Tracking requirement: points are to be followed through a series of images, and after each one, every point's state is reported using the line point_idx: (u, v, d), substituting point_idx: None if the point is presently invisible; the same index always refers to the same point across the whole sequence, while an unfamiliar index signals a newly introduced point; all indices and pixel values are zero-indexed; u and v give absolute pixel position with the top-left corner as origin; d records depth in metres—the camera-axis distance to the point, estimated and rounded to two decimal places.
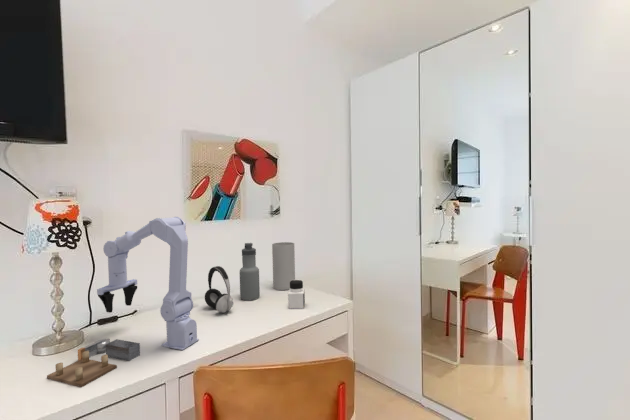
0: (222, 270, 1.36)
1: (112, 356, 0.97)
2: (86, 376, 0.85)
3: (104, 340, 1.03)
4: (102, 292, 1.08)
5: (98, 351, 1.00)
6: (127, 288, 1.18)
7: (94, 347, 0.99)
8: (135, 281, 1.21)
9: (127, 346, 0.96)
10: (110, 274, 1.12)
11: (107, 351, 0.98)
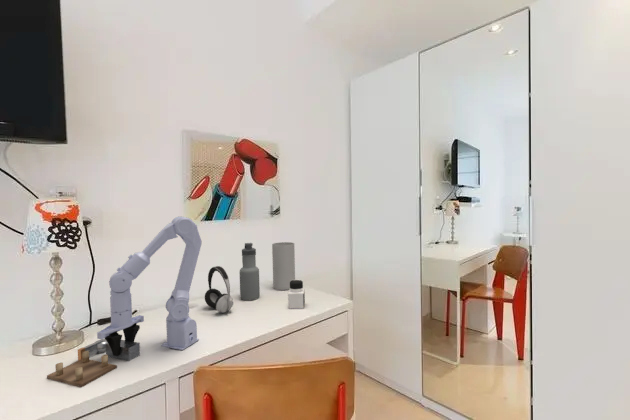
0: (222, 270, 1.36)
1: (112, 356, 0.97)
2: (86, 376, 0.85)
3: (104, 340, 1.03)
4: (103, 336, 0.91)
5: (98, 351, 1.00)
6: (128, 329, 1.00)
7: (94, 347, 0.99)
8: (141, 318, 1.04)
9: (127, 346, 0.96)
10: (113, 313, 0.95)
11: (107, 351, 0.98)
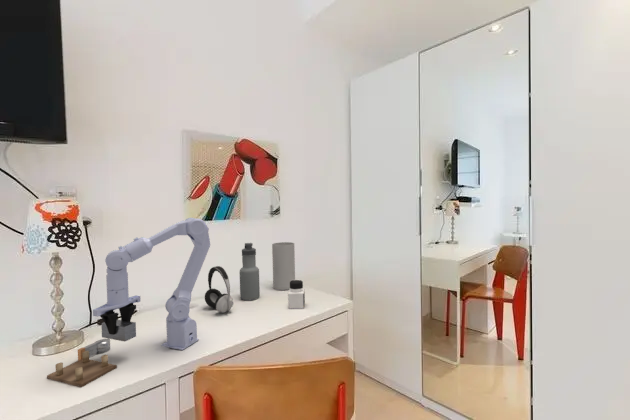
0: (222, 270, 1.36)
1: (108, 335, 0.96)
2: (86, 376, 0.85)
3: (104, 340, 1.03)
4: (99, 313, 0.91)
5: (98, 351, 1.00)
6: (124, 308, 0.99)
7: (94, 347, 0.99)
8: (138, 298, 1.03)
9: (123, 325, 0.95)
10: (109, 291, 0.94)
11: (103, 330, 0.97)
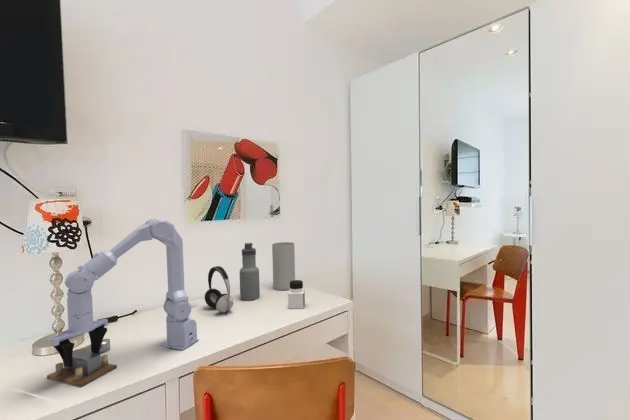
0: (222, 270, 1.36)
1: (70, 368, 0.88)
2: (86, 376, 0.85)
3: (104, 340, 1.03)
4: (57, 342, 0.82)
5: None
6: (94, 331, 0.92)
7: None
8: (105, 321, 0.94)
9: (86, 357, 0.87)
10: (69, 316, 0.86)
11: None
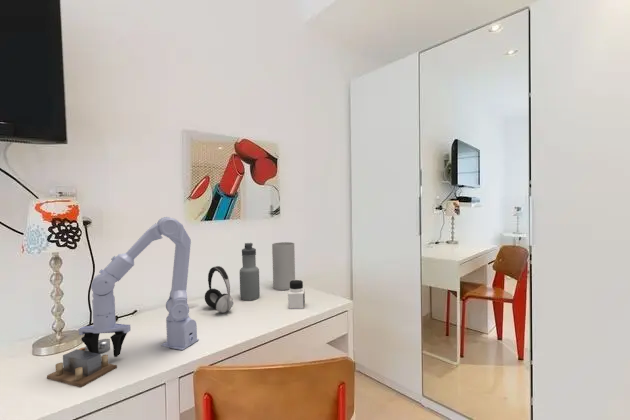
0: (222, 270, 1.36)
1: (70, 368, 0.88)
2: (86, 376, 0.85)
3: (104, 340, 1.03)
4: (80, 332, 0.94)
5: (98, 351, 1.00)
6: None
7: None
8: (124, 329, 0.95)
9: (86, 357, 0.87)
10: None
11: (64, 363, 0.88)
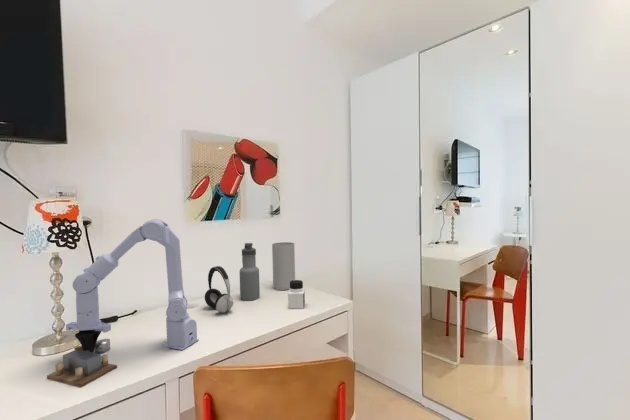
0: (222, 270, 1.36)
1: (70, 368, 0.88)
2: (86, 376, 0.85)
3: (104, 341, 1.02)
4: (67, 328, 0.98)
5: (96, 351, 1.00)
6: None
7: None
8: (103, 328, 0.96)
9: (86, 357, 0.87)
10: None
11: (64, 363, 0.88)
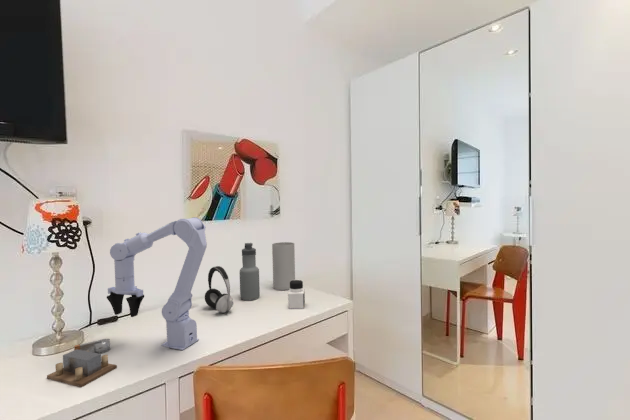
0: (222, 270, 1.36)
1: (70, 368, 0.88)
2: (86, 376, 0.85)
3: (104, 341, 1.02)
4: (108, 291, 1.09)
5: (95, 351, 1.00)
6: None
7: (91, 346, 1.00)
8: (136, 292, 1.05)
9: (86, 357, 0.87)
10: None
11: (64, 363, 0.88)
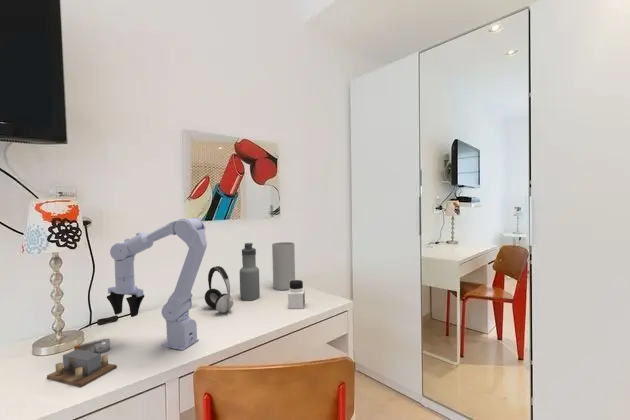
0: (222, 270, 1.36)
1: (70, 368, 0.88)
2: (86, 376, 0.85)
3: (104, 341, 1.02)
4: (108, 291, 1.09)
5: (95, 351, 1.00)
6: None
7: (91, 346, 1.00)
8: (136, 292, 1.05)
9: (86, 357, 0.87)
10: None
11: (64, 363, 0.88)
